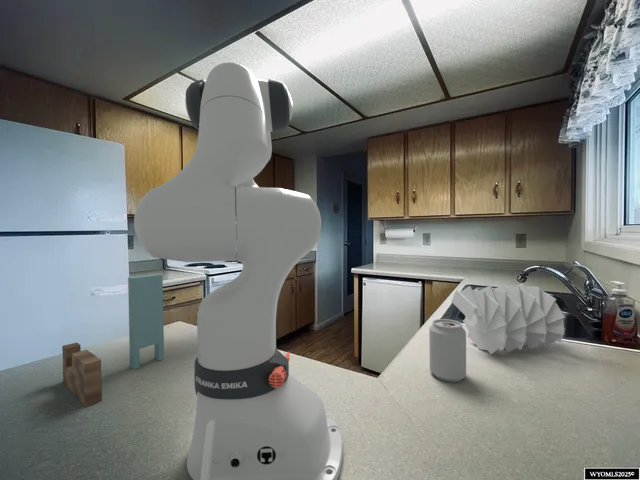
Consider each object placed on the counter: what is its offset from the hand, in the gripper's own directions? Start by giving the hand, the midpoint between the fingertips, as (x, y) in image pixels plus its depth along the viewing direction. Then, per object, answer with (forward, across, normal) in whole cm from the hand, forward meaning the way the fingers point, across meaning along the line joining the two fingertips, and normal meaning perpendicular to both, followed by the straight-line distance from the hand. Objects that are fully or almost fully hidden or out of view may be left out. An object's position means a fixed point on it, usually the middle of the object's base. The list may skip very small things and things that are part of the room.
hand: (191, 229), depth 82 cm
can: (-24, +64, +34) cm, 76 cm away
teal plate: (+12, 0, +34) cm, 36 cm away
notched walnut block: (+26, +3, +34) cm, 43 cm away
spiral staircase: (-51, +74, +34) cm, 96 cm away
